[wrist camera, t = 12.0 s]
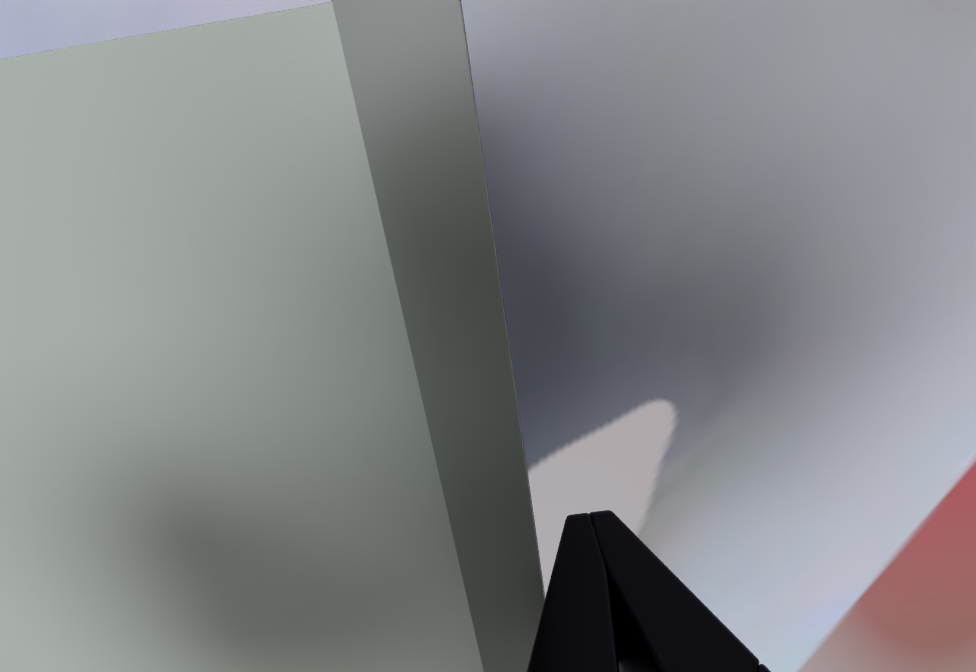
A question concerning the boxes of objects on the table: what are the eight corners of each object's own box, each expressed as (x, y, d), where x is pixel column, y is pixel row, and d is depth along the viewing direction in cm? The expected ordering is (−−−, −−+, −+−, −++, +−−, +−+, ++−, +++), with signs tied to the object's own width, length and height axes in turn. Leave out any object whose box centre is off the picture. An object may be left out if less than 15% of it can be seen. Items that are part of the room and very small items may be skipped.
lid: (459, -8, 7) (449, -68, 5) (567, 753, 13) (582, 867, 11) (-430, 144, 7) (-789, 152, 5) (96, 798, 14) (29, 915, 12)
